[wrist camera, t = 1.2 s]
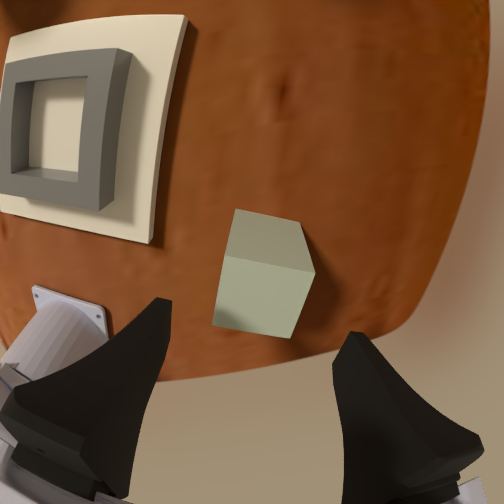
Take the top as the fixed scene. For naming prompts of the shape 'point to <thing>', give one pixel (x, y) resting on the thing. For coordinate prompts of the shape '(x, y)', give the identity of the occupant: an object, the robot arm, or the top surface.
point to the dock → (88, 122)
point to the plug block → (263, 275)
